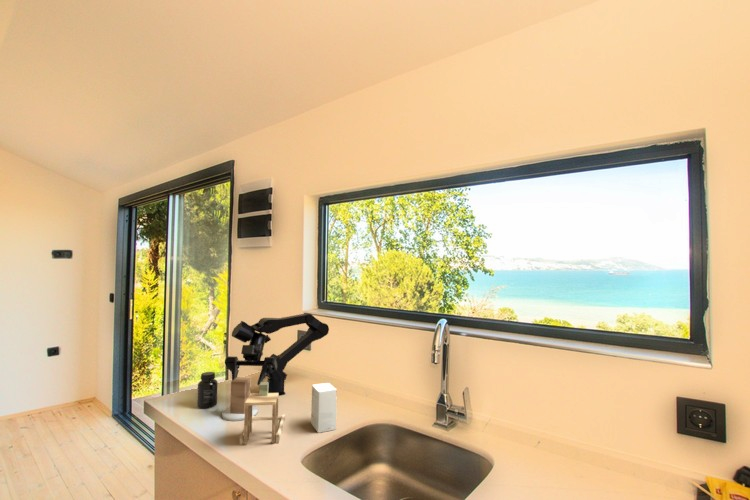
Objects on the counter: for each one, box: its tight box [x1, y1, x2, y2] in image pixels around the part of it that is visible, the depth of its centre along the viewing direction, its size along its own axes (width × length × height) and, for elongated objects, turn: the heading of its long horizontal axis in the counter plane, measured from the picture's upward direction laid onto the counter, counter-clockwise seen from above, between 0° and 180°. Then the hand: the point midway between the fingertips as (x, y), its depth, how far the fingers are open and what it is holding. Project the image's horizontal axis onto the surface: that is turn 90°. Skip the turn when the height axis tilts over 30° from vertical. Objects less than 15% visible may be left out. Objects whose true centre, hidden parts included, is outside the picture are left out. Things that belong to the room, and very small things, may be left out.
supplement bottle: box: [196, 371, 219, 410], centre depth 138 cm, size 7×7×12 cm
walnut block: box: [229, 376, 252, 414], centre depth 131 cm, size 5×5×11 cm
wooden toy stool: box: [243, 381, 280, 445], centre depth 114 cm, size 8×9×16 cm
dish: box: [221, 405, 259, 422], centre depth 131 cm, size 12×12×1 cm
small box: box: [310, 382, 338, 434], centre depth 123 cm, size 8×6×13 cm
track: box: [239, 414, 286, 446], centre depth 119 cm, size 18×11×2 cm, turn 8°
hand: (245, 384), depth 134 cm, fingers open, 9 cm apart
